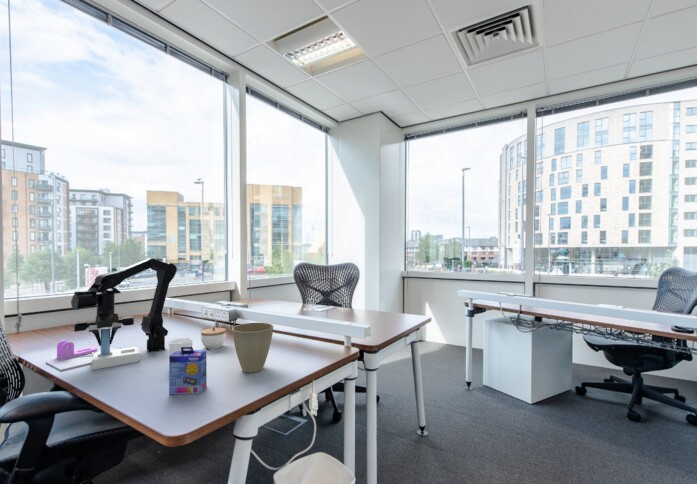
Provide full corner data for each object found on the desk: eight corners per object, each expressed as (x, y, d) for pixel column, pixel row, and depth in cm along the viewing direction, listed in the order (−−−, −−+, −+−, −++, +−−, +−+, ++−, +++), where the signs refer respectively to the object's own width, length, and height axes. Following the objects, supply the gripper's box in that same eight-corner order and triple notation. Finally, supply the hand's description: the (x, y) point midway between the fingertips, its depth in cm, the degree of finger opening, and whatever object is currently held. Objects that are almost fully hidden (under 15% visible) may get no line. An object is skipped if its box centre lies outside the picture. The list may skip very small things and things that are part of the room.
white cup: (196, 364, 126) (196, 339, 126) (180, 371, 119) (180, 344, 119) (181, 362, 129) (181, 337, 129) (164, 369, 121) (164, 342, 121)
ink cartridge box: (167, 395, 99) (168, 348, 100) (175, 387, 105) (176, 343, 105) (200, 394, 100) (201, 347, 101) (207, 386, 106) (207, 342, 106)
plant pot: (235, 380, 111) (235, 333, 111) (229, 366, 124) (229, 325, 124) (278, 372, 117) (278, 328, 118) (268, 360, 131) (268, 320, 131)
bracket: (62, 360, 132) (63, 343, 133) (56, 358, 135) (57, 341, 135) (99, 351, 144) (99, 335, 144) (93, 349, 147) (93, 334, 147)
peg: (110, 352, 130) (110, 327, 130) (109, 354, 128) (110, 328, 128) (100, 353, 128) (101, 328, 129) (100, 355, 126) (100, 330, 126)
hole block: (138, 354, 139) (138, 346, 139) (139, 361, 130) (139, 352, 130) (94, 361, 130) (94, 352, 130) (91, 369, 121) (91, 360, 121)
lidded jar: (227, 343, 155) (227, 323, 155) (224, 350, 144) (224, 329, 145) (203, 344, 153) (204, 325, 153) (198, 351, 142) (198, 330, 142)
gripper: (72, 311, 117) (71, 354, 116) (134, 306, 127) (133, 345, 127) (76, 307, 126) (75, 347, 125) (133, 302, 136) (133, 339, 136)
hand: (105, 345), depth 128 cm, fingers closed on peg, 3 cm apart
